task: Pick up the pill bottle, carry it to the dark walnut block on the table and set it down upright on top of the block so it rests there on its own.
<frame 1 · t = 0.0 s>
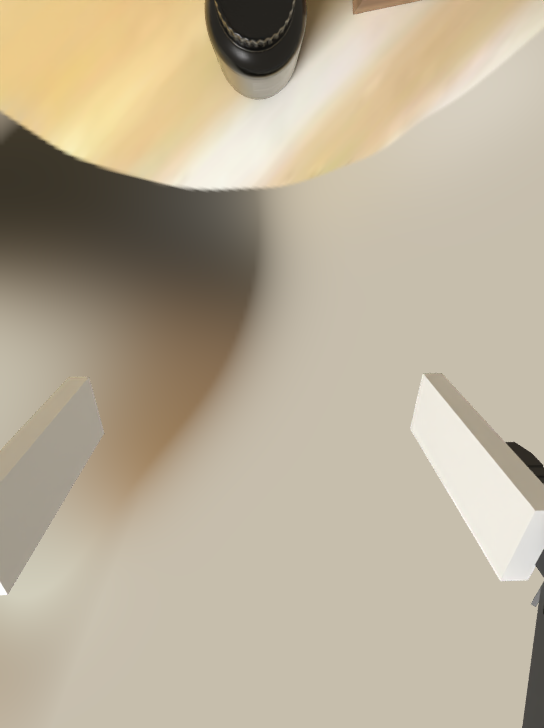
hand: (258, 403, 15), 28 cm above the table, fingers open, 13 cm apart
supplement bottle: (257, 53, 31), on the table
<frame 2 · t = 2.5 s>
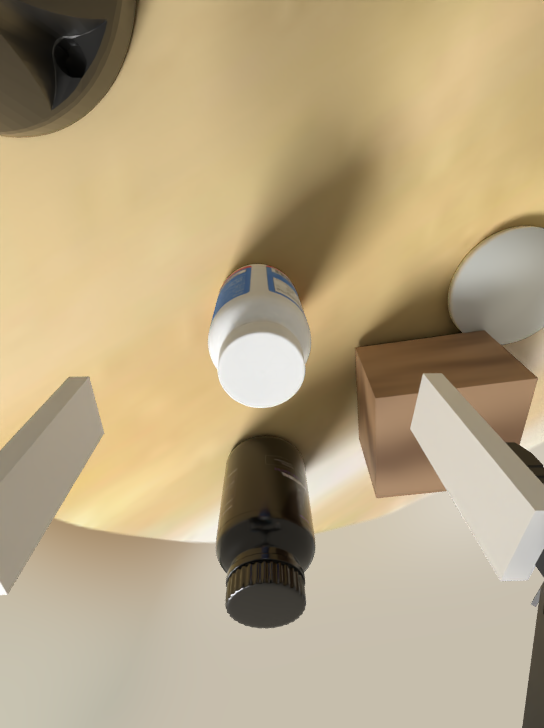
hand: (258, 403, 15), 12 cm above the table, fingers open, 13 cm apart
walnut block: (415, 389, 28), on the table, touching grey coaster
supplement bottle: (264, 461, 32), on the table
grey coaster: (506, 287, 25), on the table
pill bottle: (259, 301, 25), on the table
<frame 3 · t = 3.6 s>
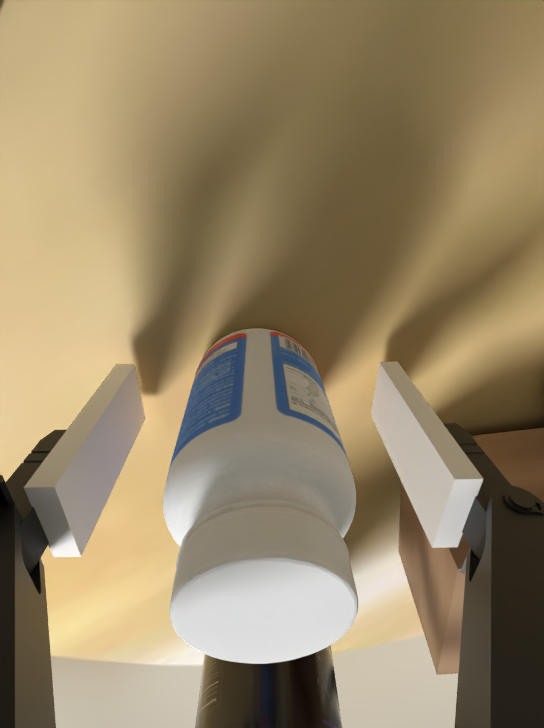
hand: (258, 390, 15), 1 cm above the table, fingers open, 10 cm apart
walnut block: (485, 495, 19), on the table, touching grey coaster
supplement bottle: (266, 576, 23), on the table
pill bottle: (258, 378, 16), on the table
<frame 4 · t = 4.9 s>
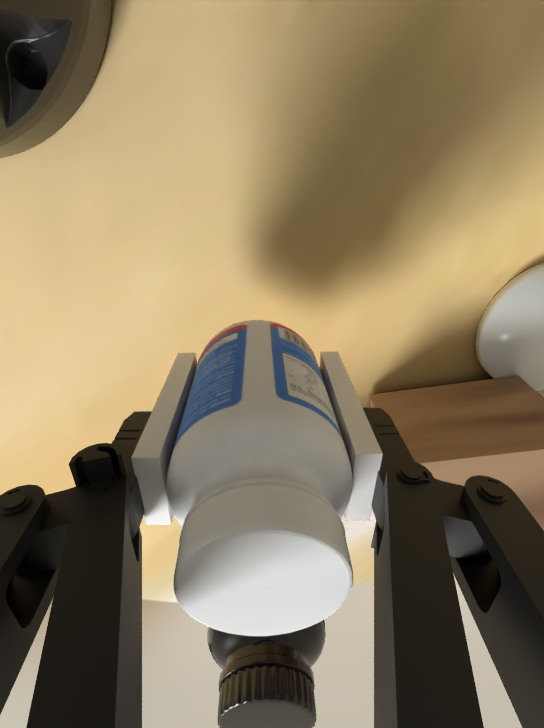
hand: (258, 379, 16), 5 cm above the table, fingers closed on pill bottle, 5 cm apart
walnut block: (437, 439, 25), on the table, touching grey coaster
supplement bottle: (265, 516, 28), on the table
grey coaster: (543, 327, 22), on the table
pill bottle: (259, 370, 17), point 5 cm above the table, touching gripper
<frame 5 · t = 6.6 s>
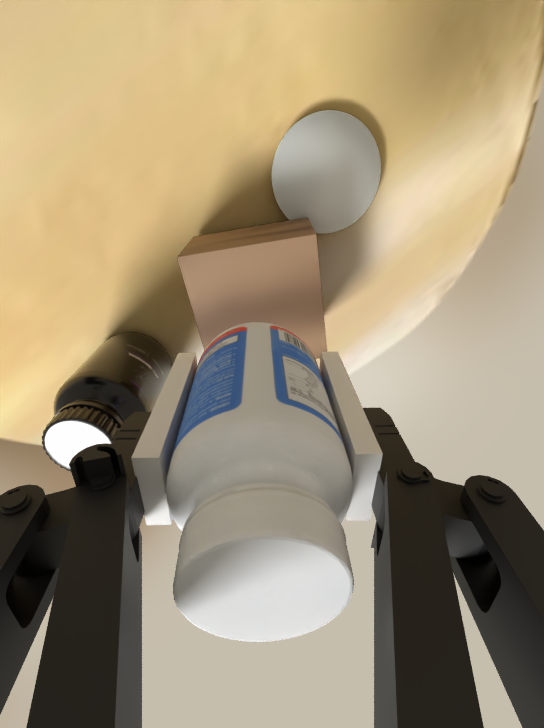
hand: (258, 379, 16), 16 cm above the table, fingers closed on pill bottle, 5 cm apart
walnut block: (260, 282, 30), on the table, touching grey coaster
supplement bottle: (136, 362, 34), on the table
grey coaster: (324, 176, 27), on the table
pill bottle: (259, 372, 17), point 16 cm above the table, touching gripper
when the fingers open (7 cm above the table, at t = 8.4 s): pill bottle stays where it is, resting on walnut block.
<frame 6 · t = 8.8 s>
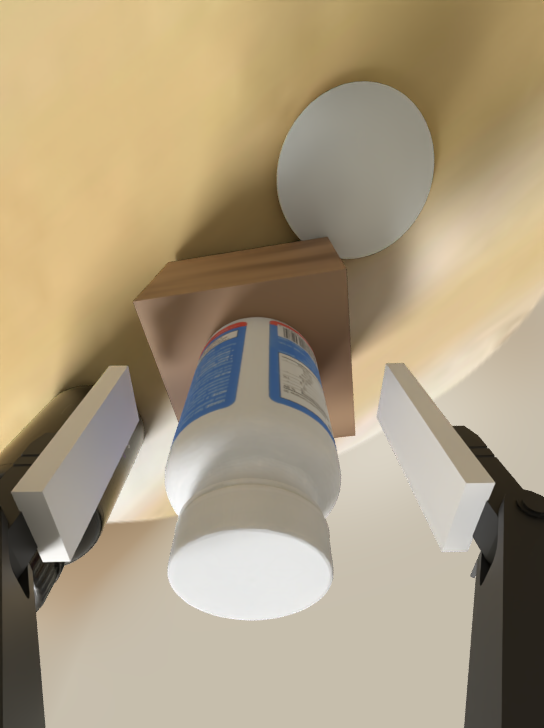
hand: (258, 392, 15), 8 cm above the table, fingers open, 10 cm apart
walnut block: (260, 323, 22), on the table, touching grey coaster, pill bottle
supplement bottle: (99, 420, 26), on the table
grey coaster: (351, 178, 19), on the table
pill bottle: (259, 364, 17), point 6 cm above the table, touching walnut block
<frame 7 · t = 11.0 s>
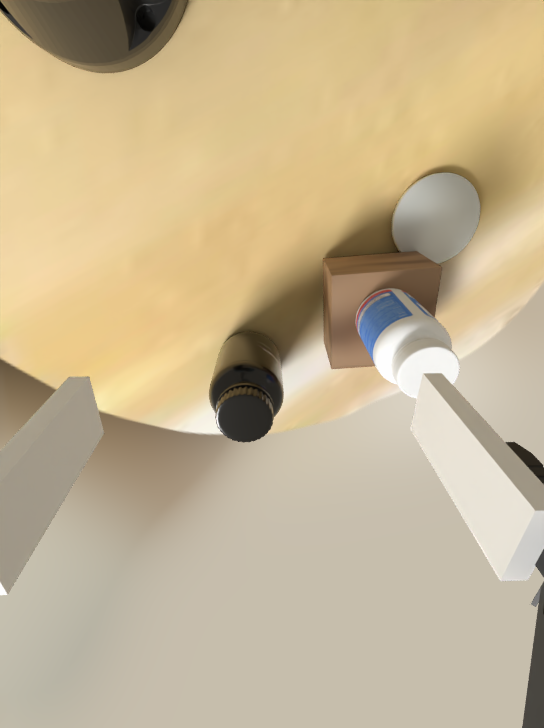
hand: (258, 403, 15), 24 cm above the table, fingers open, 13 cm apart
walnut block: (367, 299, 37), on the table, touching grey coaster, pill bottle
supplement bottle: (249, 357, 40), on the table
grey coaster: (433, 220, 34), on the table
pill bottle: (385, 315, 32), point 6 cm above the table, touching walnut block
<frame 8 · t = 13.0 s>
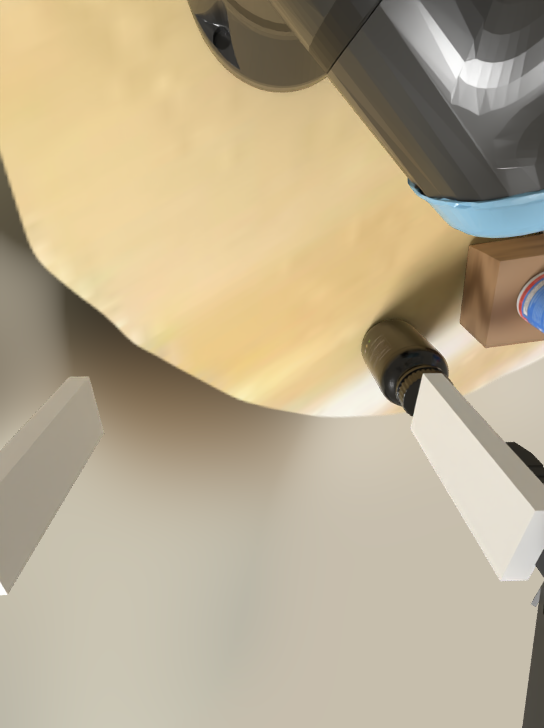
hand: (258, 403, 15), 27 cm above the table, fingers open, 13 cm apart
walnut block: (506, 280, 40), on the table, touching grey coaster, pill bottle
supplement bottle: (387, 342, 43), on the table
pill bottle: (543, 294, 34), point 6 cm above the table, touching walnut block
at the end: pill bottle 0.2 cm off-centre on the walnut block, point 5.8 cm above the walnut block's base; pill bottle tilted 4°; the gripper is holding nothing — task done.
